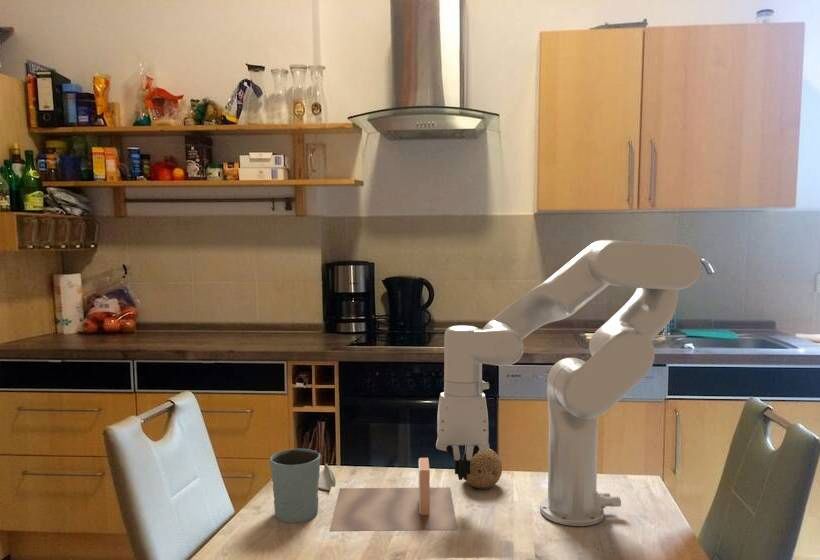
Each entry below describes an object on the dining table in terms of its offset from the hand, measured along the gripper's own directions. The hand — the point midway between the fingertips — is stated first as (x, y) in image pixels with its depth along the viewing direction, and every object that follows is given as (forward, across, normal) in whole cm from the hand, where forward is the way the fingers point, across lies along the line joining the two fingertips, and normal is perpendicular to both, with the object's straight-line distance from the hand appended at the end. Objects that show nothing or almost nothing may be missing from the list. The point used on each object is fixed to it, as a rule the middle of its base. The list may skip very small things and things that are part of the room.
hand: (462, 477), depth 129 cm
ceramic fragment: (+8, +29, -17) cm, 35 cm away
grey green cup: (+8, +34, -1) cm, 35 cm away
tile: (+6, +8, 0) cm, 10 cm away
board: (+8, +14, 0) cm, 16 cm away
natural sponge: (+8, -5, -11) cm, 15 cm away
